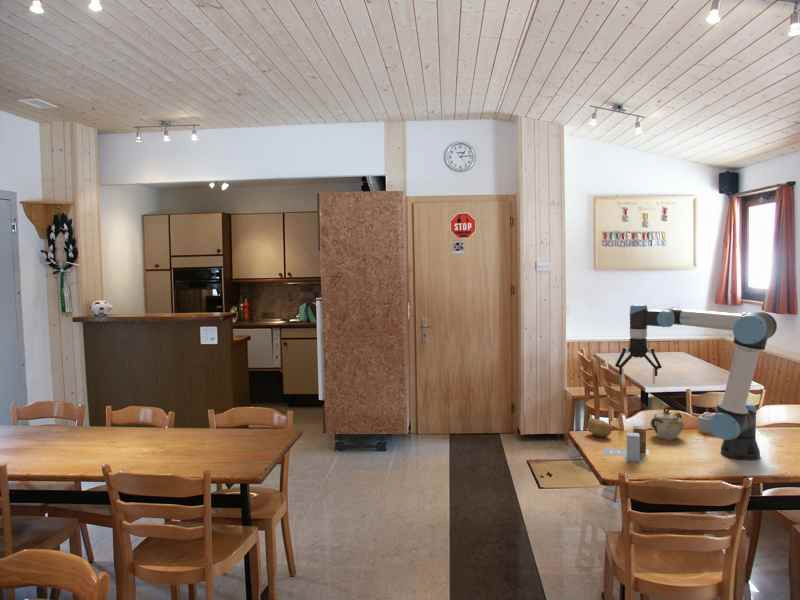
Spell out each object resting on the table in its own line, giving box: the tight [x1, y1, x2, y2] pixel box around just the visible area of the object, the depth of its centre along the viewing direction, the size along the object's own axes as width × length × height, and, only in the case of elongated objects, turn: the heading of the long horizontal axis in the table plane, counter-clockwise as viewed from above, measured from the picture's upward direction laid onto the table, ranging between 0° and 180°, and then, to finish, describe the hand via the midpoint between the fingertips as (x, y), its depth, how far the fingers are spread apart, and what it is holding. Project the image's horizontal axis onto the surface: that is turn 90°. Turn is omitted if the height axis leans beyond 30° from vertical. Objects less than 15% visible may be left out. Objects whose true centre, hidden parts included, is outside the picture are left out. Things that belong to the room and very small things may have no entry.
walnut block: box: [632, 425, 647, 454], centre depth 277 cm, size 5×5×11 cm
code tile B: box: [622, 456, 644, 464], centre depth 267 cm, size 8×8×1 cm
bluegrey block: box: [626, 432, 641, 462], centre depth 266 cm, size 5×5×11 cm
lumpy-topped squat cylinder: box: [697, 411, 715, 435], centre depth 308 cm, size 10×13×9 cm
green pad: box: [640, 448, 650, 456], centre depth 277 cm, size 8×8×1 cm
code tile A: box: [602, 447, 627, 457], centre depth 278 cm, size 10×10×1 cm
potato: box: [587, 417, 613, 438], centre depth 303 cm, size 10×14×8 cm
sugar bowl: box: [649, 406, 685, 441], centre depth 299 cm, size 20×15×15 cm
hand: (638, 382), depth 290 cm, fingers open, 13 cm apart
